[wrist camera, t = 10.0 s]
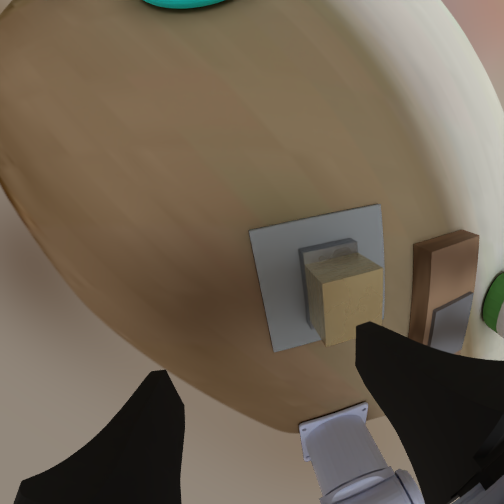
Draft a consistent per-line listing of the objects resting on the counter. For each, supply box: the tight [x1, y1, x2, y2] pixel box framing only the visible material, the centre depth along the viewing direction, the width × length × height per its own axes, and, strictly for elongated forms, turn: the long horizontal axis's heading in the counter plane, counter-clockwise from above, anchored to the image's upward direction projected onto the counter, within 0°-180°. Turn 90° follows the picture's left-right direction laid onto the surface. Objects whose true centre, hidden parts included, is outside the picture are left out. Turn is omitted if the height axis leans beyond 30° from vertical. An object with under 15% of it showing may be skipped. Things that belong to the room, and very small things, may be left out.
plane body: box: [408, 230, 479, 355], centre depth 22 cm, size 18×7×3 cm, turn 11°
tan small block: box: [298, 238, 383, 347], centre depth 17 cm, size 6×4×5 cm, turn 10°
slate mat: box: [249, 204, 385, 352], centre depth 20 cm, size 10×10×1 cm
